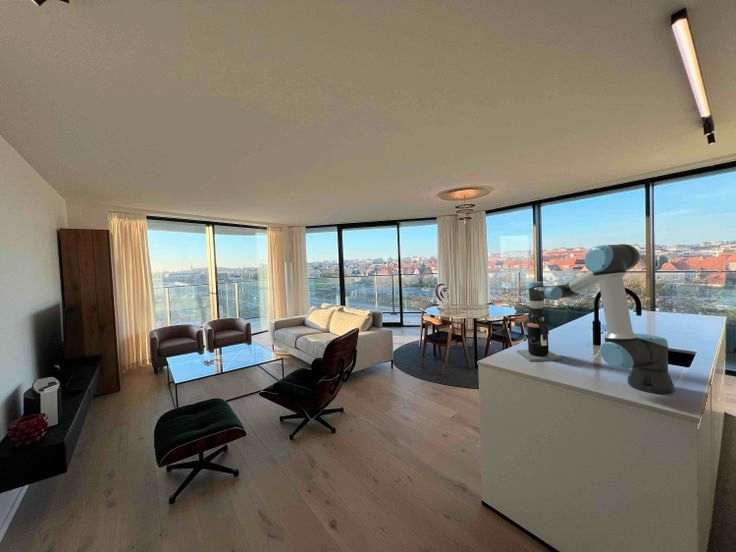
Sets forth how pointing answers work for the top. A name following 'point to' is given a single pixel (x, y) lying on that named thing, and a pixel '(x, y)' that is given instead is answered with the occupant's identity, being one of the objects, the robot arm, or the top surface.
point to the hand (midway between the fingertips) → (538, 342)
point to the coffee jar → (536, 341)
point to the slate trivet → (531, 358)
